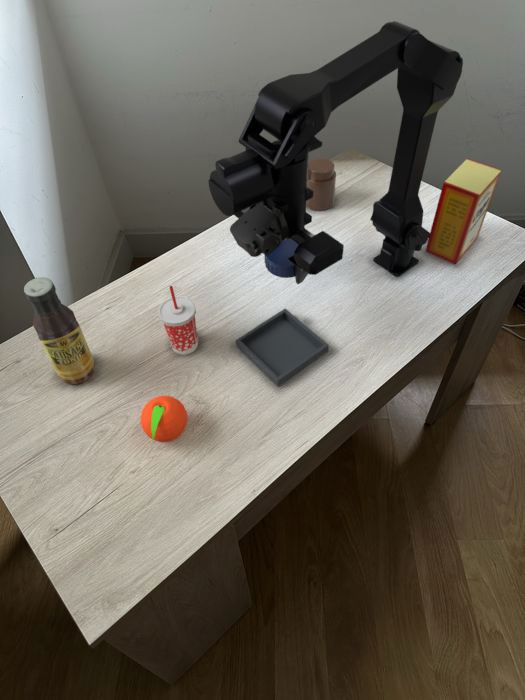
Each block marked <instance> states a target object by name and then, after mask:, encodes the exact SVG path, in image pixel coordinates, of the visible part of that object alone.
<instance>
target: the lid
mask: <svg viewBox="0 0 525 700" xmlns="http://www.w3.org/2000/svg"><path fill="white" fill-rule="evenodd" d="M298 245H299V244H297V243H296V242H295V241H293V240H292V239H291V238H290V239H288V240H285V239H284V240H283V241H281V243H280V245H279V247H277V248H276V249H275V250H274V251H273V252H272V253H271V254H270V255H268V256H265V255H264V264H265V268H266V269H267V271H268V272H269V273H270V274H271V275H274V276H275V277H278V278H283V279H291V278H295V265H294V264H293V263H292V262H290V261H289V260H288V258H289V257H291V256H293V255H294V251H295V250H296V248H297V247H298Z"/></svg>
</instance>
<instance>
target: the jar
mask: <svg viewBox="0 0 525 700" xmlns="http://www.w3.org/2000/svg"><path fill="white" fill-rule="evenodd" d="M336 182H337V173H336V170H335V163H334V162H333V161H332V160H331V159H329V158H323V157H319V158H314V159H312V160H311V161H310V162H308V174H307V187H308V188H309V189H311V190H312V191H313V198H311V199H309V200H307V201H306V208H308V209H310V210H312V211H316V212H322V211H323V212H325V211H327V210H330V209H331V208H332V207H333V206H334V204H335V194H336Z"/></svg>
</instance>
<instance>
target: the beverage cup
mask: <svg viewBox="0 0 525 700" xmlns="http://www.w3.org/2000/svg"><path fill="white" fill-rule="evenodd" d="M169 291H170V295H171V296H170V297H168V298H165V299H164V300H163V301H162V302H161V303H160V304H159V305H158V308H157V316H158V318H159V320H160V321H161V322H162V324H163V327H164V329H165V332H166V336H167V337H168V341H169V343H170V345H171V348H172V350H173V352H175V353H176V354H178V355H189V354H191V353H193V352H194V351H195V350H197V348H198V346H199V338H198V329H197V321H196V313H197V311H196V310H197V309H196V304H195V302H194V301H193V299H192V298H190V297H188V296H185V295H176V294H175V291H174V287H173V285H170V286H169Z"/></svg>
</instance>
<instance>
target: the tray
mask: <svg viewBox="0 0 525 700" xmlns="http://www.w3.org/2000/svg"><path fill="white" fill-rule="evenodd" d="M235 346H236V347H235V348H237V350H239V351H240V352H241V353H242V354H243V355H244V356H245V357H246V358H247V359H248V360H249V361H250V362H251V363H252V364H253V365H254V366H255V367H256V368H257V369H258V370H259V371H260V372H262V373H263V374H264V375H265V377H267V378H268V379H269V381H271V382H272V383H273V384H274V385H275V386H276V387H277V388H279V387H281V386H282V385H283V384H285V383H287V382H289V380H291V379H292V378H293V377H295V376H296V375H298V374H299V373H300V372H302V371H303V370H305V369H306V368H307V367H309V366H310V365H312V364H313V363H315V362H316V361H317V360H319V359H320V358H322V357H323V356H325V355H326V354H327V353H328V352H329V344H328V343H327V342H326V341H325V340H323V339H322V338H321V337H320V336H319V335H318V334H316V333H315V332H314V331H313V330H312V329H311V328H309V327H308V326H307V325H306V324H304V323H303V322H302V321H301V320H300V319H298V317H296V316H295V315H294V314H292V313H291V311H289V310H288V309H287V308H283V309H282V310H280V311H278V312H277V313H276V314H274V315H272V316H271V317H269V318H268V319H266V320H264V321H263V322H261V323H260V324H258V325H257V326H255V327H254V328H252V329H251V330H248V331H247V332H246V333H244V334H243V335H241V336H240V337H238V338H237V339H235Z"/></svg>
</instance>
